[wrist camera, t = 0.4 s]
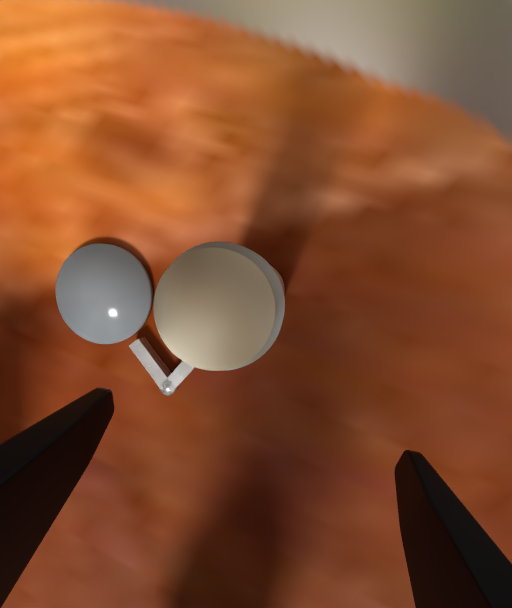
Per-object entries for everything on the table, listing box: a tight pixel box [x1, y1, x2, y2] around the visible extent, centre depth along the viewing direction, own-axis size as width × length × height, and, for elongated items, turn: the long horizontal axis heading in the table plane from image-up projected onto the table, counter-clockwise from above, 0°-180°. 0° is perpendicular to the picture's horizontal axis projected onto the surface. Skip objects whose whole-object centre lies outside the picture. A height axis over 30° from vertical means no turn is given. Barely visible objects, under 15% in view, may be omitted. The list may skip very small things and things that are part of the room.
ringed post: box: [153, 242, 285, 371], centre depth 18 cm, size 5×5×13 cm
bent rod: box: [129, 336, 195, 395], centre depth 25 cm, size 7×5×1 cm
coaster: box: [56, 243, 153, 344], centre depth 25 cm, size 8×8×1 cm
